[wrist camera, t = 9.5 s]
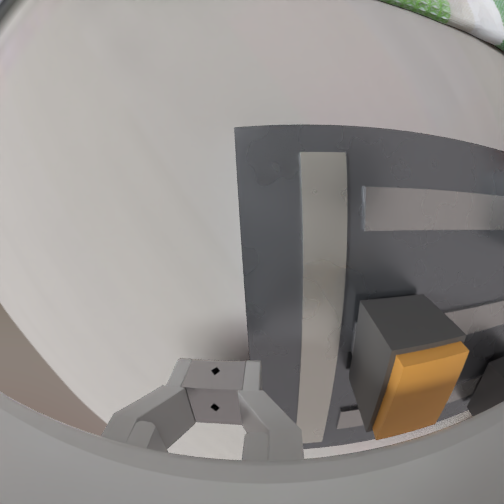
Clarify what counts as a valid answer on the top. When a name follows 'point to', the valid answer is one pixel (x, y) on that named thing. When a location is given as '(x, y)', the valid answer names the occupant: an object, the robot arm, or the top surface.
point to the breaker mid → (404, 363)
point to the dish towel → (463, 16)
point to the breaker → (489, 388)
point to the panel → (362, 255)
